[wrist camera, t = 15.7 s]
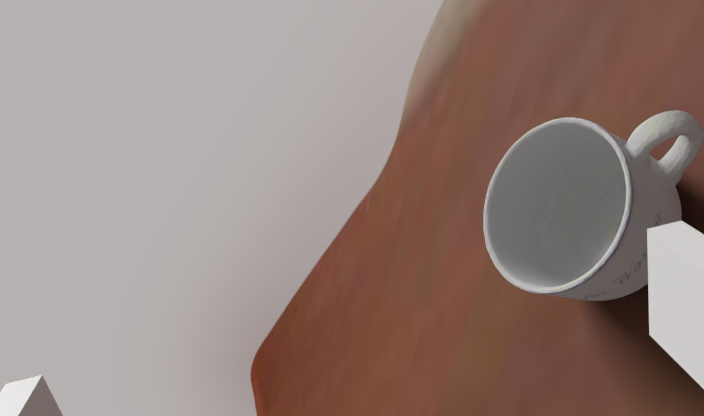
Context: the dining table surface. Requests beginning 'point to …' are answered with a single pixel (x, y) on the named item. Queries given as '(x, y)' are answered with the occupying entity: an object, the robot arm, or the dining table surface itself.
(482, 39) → the dining table surface
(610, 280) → the teacup
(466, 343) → the dining table surface
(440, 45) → the dining table surface
